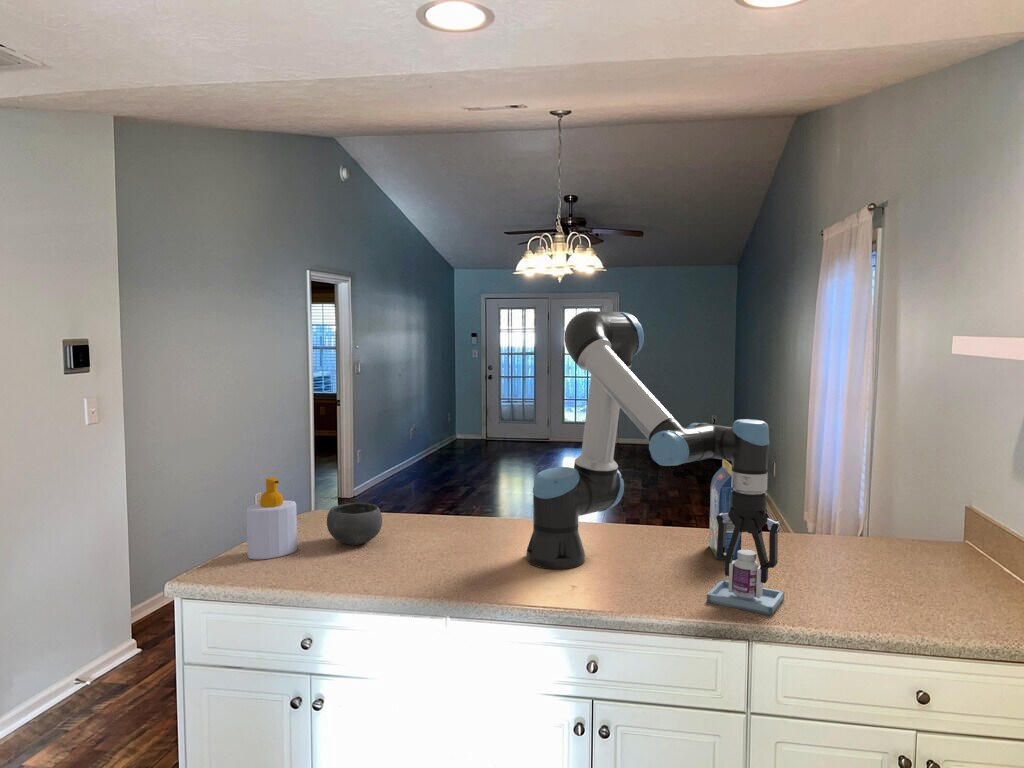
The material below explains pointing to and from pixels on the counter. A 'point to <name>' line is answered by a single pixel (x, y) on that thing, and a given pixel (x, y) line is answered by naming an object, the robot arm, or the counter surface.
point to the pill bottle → (745, 574)
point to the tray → (746, 599)
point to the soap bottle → (271, 525)
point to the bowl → (354, 522)
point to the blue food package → (721, 507)
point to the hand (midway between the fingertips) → (745, 593)
